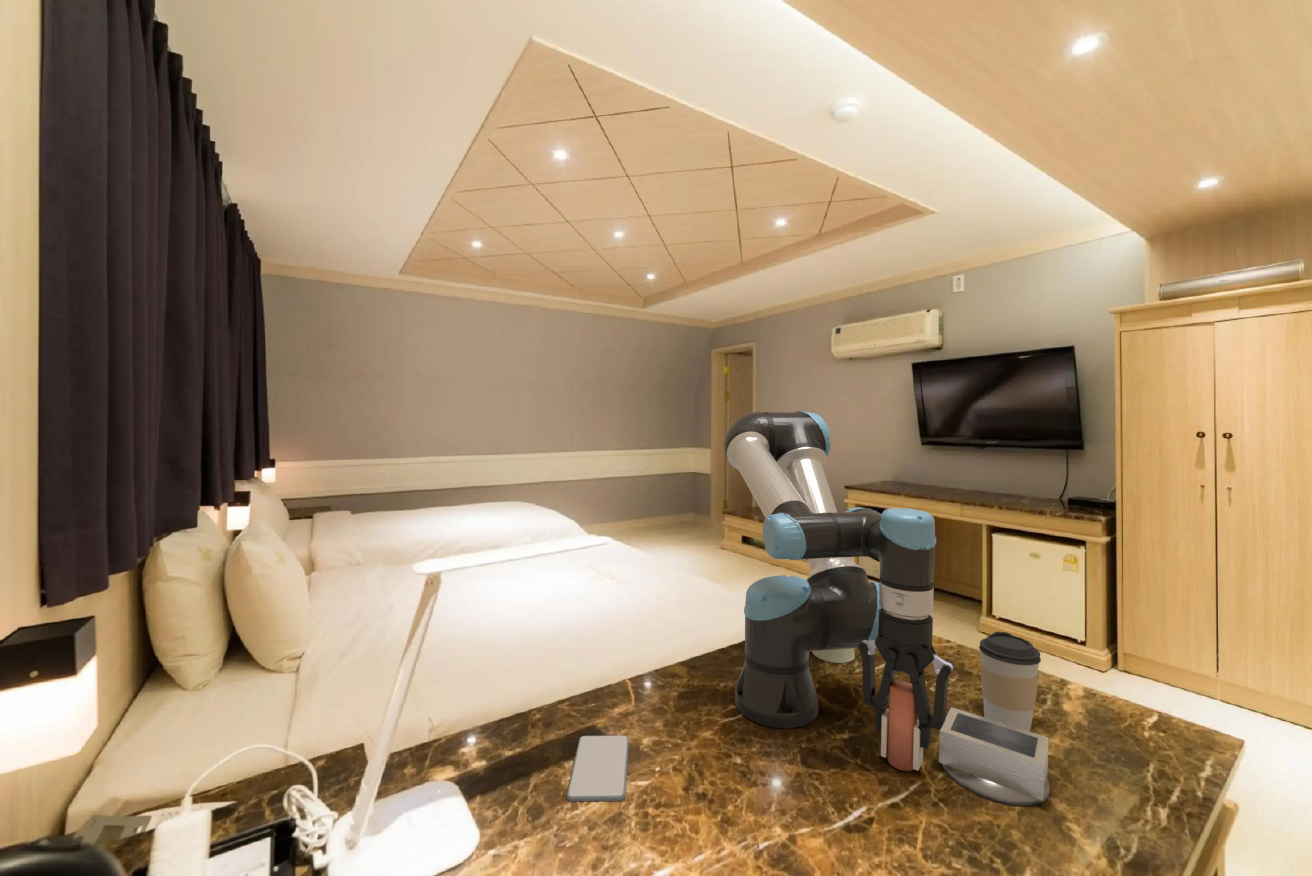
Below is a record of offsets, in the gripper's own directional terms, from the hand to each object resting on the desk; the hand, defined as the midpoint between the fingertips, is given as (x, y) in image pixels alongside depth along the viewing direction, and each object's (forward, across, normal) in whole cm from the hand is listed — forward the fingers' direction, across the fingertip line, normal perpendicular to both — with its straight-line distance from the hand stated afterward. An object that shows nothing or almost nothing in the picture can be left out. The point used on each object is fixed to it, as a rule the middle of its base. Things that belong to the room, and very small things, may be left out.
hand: (901, 758), depth 83 cm
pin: (+1, 0, 0) cm, 1 cm away
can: (+2, -23, +31) cm, 38 cm away
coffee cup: (+1, +11, +24) cm, 26 cm away
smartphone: (+2, -36, -30) cm, 47 cm away
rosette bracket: (+1, +11, +7) cm, 13 cm away
